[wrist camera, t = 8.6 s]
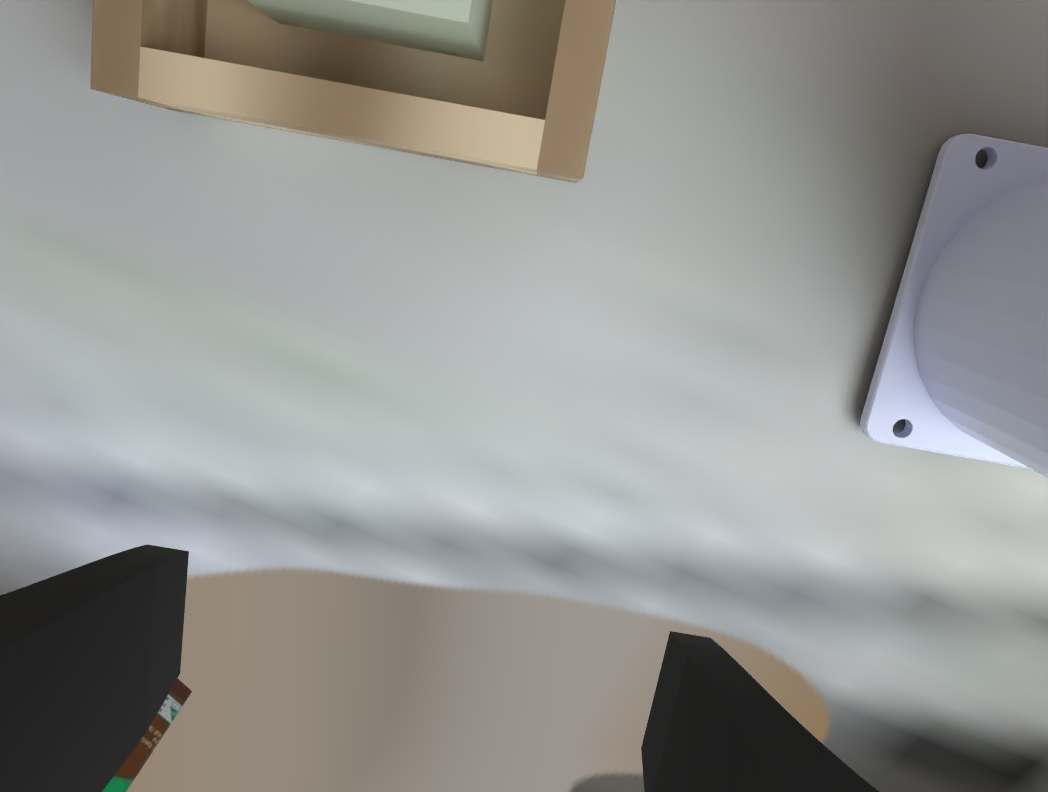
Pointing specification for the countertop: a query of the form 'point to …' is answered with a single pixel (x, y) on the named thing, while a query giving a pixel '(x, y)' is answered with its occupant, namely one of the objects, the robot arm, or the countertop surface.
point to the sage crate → (394, 22)
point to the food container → (149, 739)
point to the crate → (370, 79)
